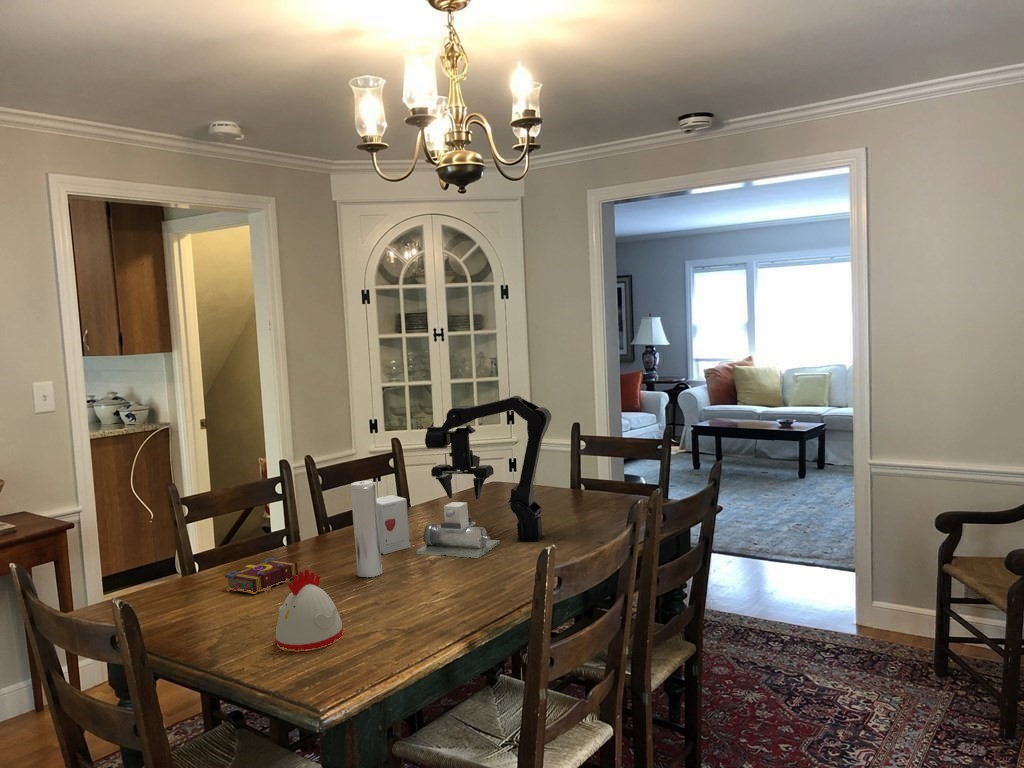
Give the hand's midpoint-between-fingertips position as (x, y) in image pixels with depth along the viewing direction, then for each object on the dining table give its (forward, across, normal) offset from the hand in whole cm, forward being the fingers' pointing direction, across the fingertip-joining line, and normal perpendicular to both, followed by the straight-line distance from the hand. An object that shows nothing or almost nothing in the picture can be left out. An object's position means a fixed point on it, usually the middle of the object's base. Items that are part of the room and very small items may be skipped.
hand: (464, 498), depth 237 cm
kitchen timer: (+12, -2, +77) cm, 78 cm away
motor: (+12, -3, +11) cm, 17 cm away
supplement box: (+12, +18, +15) cm, 26 cm away
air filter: (+12, +10, +37) cm, 40 cm away
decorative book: (+12, +35, +51) cm, 63 cm away
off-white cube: (+5, -3, +11) cm, 12 cm away
